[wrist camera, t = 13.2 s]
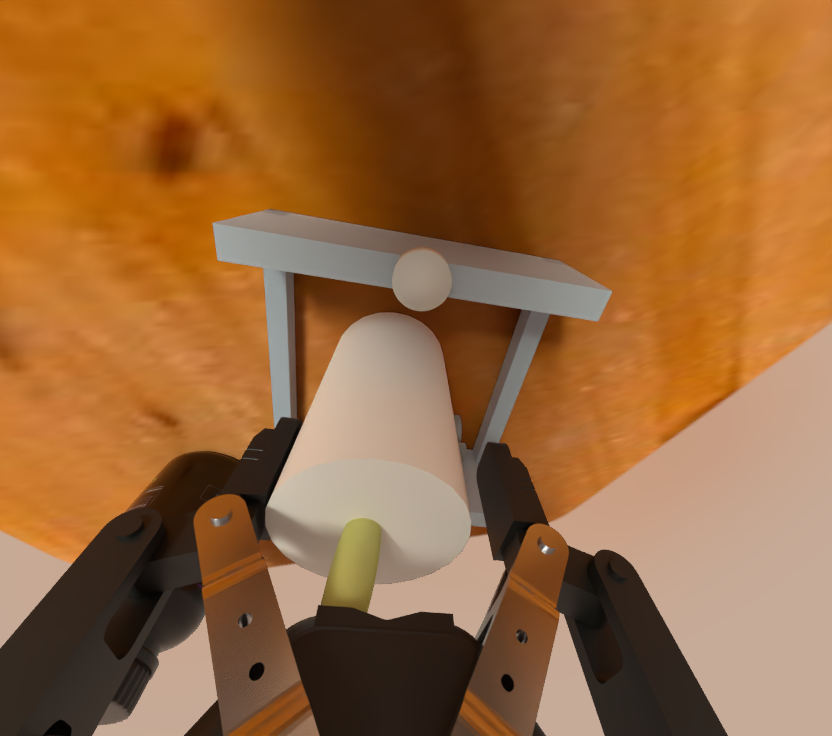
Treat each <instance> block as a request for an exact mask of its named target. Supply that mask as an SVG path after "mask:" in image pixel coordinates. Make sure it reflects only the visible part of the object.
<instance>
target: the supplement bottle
mask: <svg viewBox="0 0 832 736" xmlns="http://www.w3.org/2000/svg"><path fill="white" fill-rule="evenodd" d="M238 463H239V461H237V460H235V459H233V458H231V457H229V456H226V455H223V454H219V453H214V452H205V451H199V452H191V453H186V454H183V455H180V456H178V457H176V458H175V459H173V460H171V461H170V462H169V463H168V464H167V465H166V466H165V467H164V468H163V469H162V470H161V472H160V473H159V474H158V475H157V476H156V477H155V478H154V479H153V480H152V482H151V483H150V484H149V485H148V486H147V487H146V488H145V490H144V491H143V492H142V493H141V494H140V495H139V496H138V498H137V499H136V500H135V501H134V502H133V503H132V504H131V506H130V507H129V508H128V509H127V510H126V511H125V512H127V511H130V510H133V509H138V508H151V509H154V510H156V511H158V512H159V513H160V515H161V518H162V517H167V516H173V515H178V514H184V513H189V512H193V511H196V510H198V509H199V508H200V507H201V506H202V505H203V504H204V503H206V502H207V501H209V500H210V499H212V498H214V497H217V496H218V495H219V494H220V493H221V491H222V489H223V488H224V486H225V484H226V483H227V481H228V479H229V478H230V476H231V474H232V473H233V471H234V469H235V468H236V466H237V464H238ZM125 512H124V513H125ZM202 586H203V582H198V583H194V584H190V585H186V586H182V587H178V588H174V590H173V591H172V593H171V595H170V597H169V599H168V600H167V602H166V604H165V606H164V608H163V609H162V611H161V613H160V615H159V617H158V618H157V620H156V622H155V624H154V625H153V627H152V629H151V631H150V633H149V634H148V636H147V638H146V640H145V642H144V643H143V645H142V647H141V649H140V651H139V652H138V654H137V656H136V658H135V660H134V661H133V663H132V665H131V667H130V669H129V670H128V672H127V674H126V676H125V677H124V679H123V681H122V683H121V685H120V686H119V688H118V690H117V692H116V694H115V695H114V697H113V699H112V701H111V703H110V704H109V706H108V708H107V710H106V712H105V713H104V715H103V717H102V719H101V721H100V722H99V724H98V725H107V724H113V723H117V722H121V721H123V720H125V719H127V718H128V716H130V714H131V713H132V711H133V710H134V708H135V706H136V704H137V702H138V700H139V699H140V697H141V695H142V693H143V691H144V689H145V687H146V685H147V683H148V681H149V680H150V679H151V678H152V677H153V675H154V673H155V671H156V669H157V667H158V665H159V661H158V659H157V656H158V654H159V653H160V652H163V651H166V650H168V649H171V648H173V647H175V646H177V645H178V644H180V643H182V642H183V641H184V640H186V639H187V638H188V637H189V636H190V635H191V634H192V633H193V632H194V631H195V630H196V629H197V628H198V626H199V625H200V623H201V621H202V619H203V617H204V615H205V609H204V602H203V595H202Z"/></svg>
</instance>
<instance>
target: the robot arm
mask: <svg viewBox="0 0 832 736" xmlns="http://www.w3.org/2000/svg"><path fill="white" fill-rule="evenodd" d="M301 427H302V420H301V419H297V418H288V417H281V418H280V420H279V421H278V423H277V425H276V427H275V429H266V428H265V429H264V430H262V431H261V432H260V433H258V434H257V435H256V436H255V437H254V438H253V439H252V441H251V443H250V444H249V446H248V448H247V450H246V451H245V453H244V454H243V456H242V459H240V461H239V463H238V464H237V466H236V468H235V469H234V471H233V473H232V474H231V476H230V478H229V479H228V481H227V483H226V484H225V486H224V488H223V489H222V491H221V493H220V494H219V495H218V496H217V497H214V498H212V499H210V500H209V501H207V502H206V503H204V504H203V505H202V506H201V507H200V508H199V509H198V510H196V511H193V512H189V513H184V514H178V515H173V516H167V517H162V518H161V515H160V513H159V512H158V511H156V510H154V509H151V508H138V509H133V510H130V511H127V512H125V513H123V514H121V515H119V516H117V517H115V518H114V519H113V520H111V521H110V522H109V523H108V524H107V525H106V526H105V527H104V528H103V529H102V530H101V531H100V532H99V533H98V535H97V536H96V537H95V538H94V539H93V540H92V542H91V543H90V544H89V545H88V546H87V548H86V549H85V550H84V551H83V552H82V553H81V555H80V556H79V557H78V558H77V559H76V560H75V562H74V563H73V564H72V565H71V566H70V567H69V569H68V570H67V571H66V572H65V573H64V574H63V576H62V577H61V578H60V579H59V580H58V582H57V583H56V584H55V585H54V586H53V587H52V589H51V590H50V591H49V592H48V593H47V594H46V596H45V597H44V598H43V599H42V600H41V601H40V603H39V604H38V605H37V606H36V607H35V609H34V610H33V611H32V612H31V613H30V615H29V616H28V617H27V618H26V619H25V620H24V621H23V623H22V624H21V625H20V626H19V627H18V629H17V630H16V631H15V632H14V633H13V635H11V637H10V638H9V639H8V640H7V641H6V643H5V644H4V645H3V646H2V647H1V648H0V736H92V735H93V733H94V731H95V729H96V728H97V726H98V724H99V722H100V721H101V719H102V717H103V715H104V713H105V712H106V710H107V708H108V706H109V704H110V703H111V701H112V699H113V697H114V695H115V694H116V692H117V690H118V688H119V686H120V685H121V683H122V681H123V679H124V677H125V676H126V674H127V672H128V670H129V669H130V667H131V665H132V663H133V661H134V660H135V658H136V656H137V654H138V652H139V651H140V649H141V647H142V645H143V643H144V642H145V640H146V638H147V636H148V634H149V633H150V631H151V629H152V627H153V625H154V624H155V622H156V620H157V618H158V617H159V615H160V613H161V611H162V609H163V608H164V606H165V604H166V602H167V600H168V599H169V597H170V595H171V593H172V591H173V590H174V588H178V587H182V586H186V585H190V584H194V583H198V582H203V586H202V595H203V602H204V609H205V615H206V622H207V629H208V635H209V643H210V649H211V655H212V663H213V670H214V676H215V683H216V690H217V696H218V700H217V701H216V702H215V703H214V704H213V705H212V706H211V707H210V708H209V709H208V711H206V713H205V714H204V715H203V716H202V717H201V718H200V719H199V720H198V721H197V722H196V723H195V724H194V725H193V726H192V728H191V729H190V730H189V731H188V732H187V733H186V734H185V735H184V736H546V735H545V734H544V732H543V731H542V729H541V728H540V727H539V725H538V724H537V722H536V717H537V713H538V709H539V704H540V700H541V695H542V691H543V687H544V683H545V678H546V674H547V669H548V665H549V660H550V656H551V652H552V648H553V643H554V639H555V634H556V630H557V626H558V621H559V612H560V613H562V614H564V616H565V619H566V621H567V625H568V628H569V631H570V634H571V637H572V640H573V643H574V646H575V648H576V652H577V655H578V658H579V660H580V663H581V666H582V669H583V672H584V675H585V678H586V681H587V684H588V687H589V690H590V693H591V696H592V699H593V702H594V705H595V708H596V711H597V714H598V717H599V720H600V723H601V726H602V729H603V732H604V735H605V736H728V735H727V733H726V732H725V730H724V728H723V726H722V724H721V723H720V721H719V719H718V717H717V715H716V714H715V712H714V710H713V708H712V706H711V705H710V703H709V701H708V699H707V697H706V696H705V694H704V692H703V690H702V688H701V687H700V685H699V683H698V681H697V679H696V678H695V676H694V674H693V672H692V670H691V669H690V667H689V665H688V663H687V661H686V660H685V658H684V656H683V654H682V653H681V651H680V649H679V647H678V645H677V643H676V642H675V640H674V638H673V636H672V634H671V633H670V631H669V629H668V627H667V625H666V624H665V622H664V620H663V618H662V616H661V615H660V613H659V611H658V609H657V607H656V606H655V604H654V602H653V600H652V598H651V597H650V595H649V593H648V591H647V589H646V588H645V586H644V584H643V582H642V580H641V579H640V577H639V575H638V573H637V572H636V570H635V569H634V567H633V566H632V565H631V564H630V563H629V562H628V561H627V560H626V559H625V558H624V557H622V556H621V555H619V554H617V553H615V552H613V551H610V550H600V551H598V552H597V553H596V554H595V556H592V555H590V554H587V553H585V552H582V551H580V550H577V549H575V548H572V547H570V546H568V545H567V543H566V541H565V540H564V538H563V537H562V536H561V535H560V534H559V533H558V532H557V531H556V530H555V529H553V528H552V527H550V526H549V524H548V521H547V519H546V516H545V514H544V511H543V509H542V506H541V504H540V501H539V498H538V496H537V493H536V491H535V490H534V489H535V488H534V486H533V483H532V482H531V478H530V476H529V473H528V470H527V468H526V467H525V466H524V464H523V463H522V462H521V461H520V460H519V459H518V458H514V457H512V456H511V453H510V450H509V448H508V446H507V444H503V443H495V442H488V443H487V444H486V446H485V449H484V451H483V454H482V457H481V459H480V462H479V465H478V468H477V475H476V478H477V485H478V490H479V495H480V499H481V504H482V509H483V513H484V518H485V523H486V527H487V532H488V536H489V541H490V546H491V551H492V556H493V560H500V561H504V564H505V568H506V569H505V571H504V573H503V575H502V577H501V580H500V582H499V585H498V587H497V589H496V592H495V594H494V597H493V599H492V601H491V604H490V606H489V609H488V611H487V613H486V616H485V618H484V620H483V623H482V624H481V626H480V629H479V631H478V633H477V635H476V637H475V638H474V637H473V636H472V635H470V634H469V633H468V632H466V631H465V630H463V629H461V628H459V627H457V626H454V621H453V614H445V613H430V612H418V613H414V614H411V615H406V616H403V617H399V618H394V619H390V620H384V619H381V618H379V617H376V616H373V615H371V614H368V613H366V612H363V611H360V610H358V609H355V608H353V607H338V606H323V605H318V610H317V614H316V616H314V617H310V618H307V619H304V620H302V621H300V622H298V623H296V624H294V625H292V626H291V627H289V628H288V629H286V628H285V625H284V622H283V619H282V615H281V612H280V609H279V606H278V602H277V599H276V595H275V592H274V589H273V585H272V582H271V579H270V575H269V572H268V569H267V566H266V562H265V560H264V558H263V557H262V555H261V552H260V549H259V546H258V543H259V540H270V536H269V533H268V531H267V529H266V526H265V509H266V507H267V504H268V502H269V500H270V497H271V495H272V493H273V491H274V488H275V486H276V484H277V482H278V479H279V477H280V475H281V472H282V470H283V468H284V466H285V463H286V461H287V459H288V457H289V454H290V452H291V450H292V447H293V445H294V443H295V441H296V438H297V436H298V434H299V432H300V429H301Z"/></svg>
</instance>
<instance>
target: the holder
mask: <svg viewBox="0 0 832 736" xmlns="http://www.w3.org/2000/svg"><path fill="white" fill-rule="evenodd" d="M213 230H214V237H215V244H216V252H217V259H218V261H224V262H230V263H237V264H243V265H249V266H255V267H262V268H263V270H264V284H265V299H266V313H267V328H268V342H269V356H270V371H271V385H272V400H273V414H274V428H275V427H276V425H277V423H278V421H279V420H280V418H281V417H288V418H297V394H296V350H295V307H294V273H299V274H305V275H311V276H318V277H324V278H330V279H336V280H343V281H349V282H355V283H361V284H367V285H374V286H380V287H386V288H392V289H393V291H394V294H395V296H396V297H397V299H398V300H399V301H400V302H401V303H402V304H403V305H404V306H406V307H407V308H409V309H412V310H415V311H428V310H432V309H434V308H436V307H438V306H439V305H441V304H442V303H443V302H444V301H445V300H446V298H447V297H449V298H455V299H461V300H467V301H473V302H480V303H486V304H492V305H498V306H505V307H511V308H517V309H522V310H521V313H520V316H519V319H518V322H517V325H516V327H515V330H514V333H513V336H512V339H511V342H510V345H509V347H508V350H507V353H506V356H505V359H504V362H503V365H502V368H501V370H500V373H499V376H498V379H497V382H496V385H495V388H494V390H493V393H492V396H491V399H490V402H489V405H488V408H487V410H486V413H485V416H484V419H483V422H482V425H481V428H480V430H479V433H478V436H477V439H476V442H475V445H474V448H473V450H470V449H466V452H465V456H464V460H463V463H462V468H463V474H464V480H465V486H466V492H467V497H468V503H469V509H470V515H471V526H479V527H486V523H485V518H484V513H483V509H482V504H481V499H480V495H479V490H478V485H477V478H476V475H477V468H478V465H479V462H480V459H481V457H482V454H483V451H484V449H485V446H486V444H487V443H488V442H495V443H499V441H500V438H501V436H502V433H503V431H504V428H505V426H506V423H507V421H508V418H509V416H510V413H511V411H512V408H513V406H514V403H515V401H516V398H517V396H518V393H519V391H520V388H521V386H522V383H523V381H524V378H525V376H526V373H527V371H528V368H529V366H530V363H531V361H532V358H533V356H534V353H535V351H536V348H537V346H538V343H539V341H540V338H541V336H542V333H543V331H544V328H545V326H546V323H547V321H548V318H549V316H550V314H555V315H561V316H567V317H573V318H579V319H586V320H592V321H598V320H599V318H600V316H601V314H602V312H603V310H604V308H605V306H606V304H607V302H608V300H609V298H610V296H611V294H612V291H611V290H610V289H608V288H606V287H604V286H603V285H601V284H599V283H597V282H596V281H594V280H592V279H591V278H589V277H587V276H585V275H584V274H582V273H580V272H578V271H577V270H575V269H573V268H572V267H570V266H568V265H566V264H565V263H563V262H561V261H559V260H554V259H549V258H543V257H537V256H532V255H526V254H521V253H515V252H509V251H504V250H498V249H492V248H487V247H481V246H475V245H470V244H464V243H458V242H453V241H447V240H442V239H436V238H430V237H425V236H419V235H413V234H408V233H402V232H396V231H391V230H385V229H380V228H374V227H368V226H363V225H357V224H351V223H346V222H340V221H334V220H329V219H323V218H317V217H312V216H306V215H301V214H295V213H289V212H284V211H278V210H272V209H268V210H264V211H260V212H256V213H252V214H248V215H244V216H239V217H235V218H231V219H227V220H223V221H219V222H215V223H213Z"/></svg>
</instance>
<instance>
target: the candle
mask: <svg viewBox="0 0 832 736" xmlns="http://www.w3.org/2000/svg"><path fill="white" fill-rule="evenodd" d="M461 436H462V422H461V417H460V415H454V414H453V409H452V404H451V398H450V392H449V386H448V380H447V374H446V368H445V362H444V357H443V353H442V349H441V346H440V343H439V341H438V339H437V338H436V336H435V335H434V333H433V332H432V331H431V330H430V329H429V328H428V327H427V326H426V325H424V324H423V323H422V322H420V321H418V320H417V319H415V318H413V317H411V316H409V315H404V314H400V313H395V312H382V313H375V314H372V315H368V316H365V317H363V318H361V319H359V320H358V321H356V322H355V323H353V324H352V325H351V326H350V327H349V328H348V329H347V330H346V331H345V332H344V333H343V335H342V337H341V339H340V341H339V343H338V345H337V348H336V350H335V352H334V354H333V357H332V359H331V361H330V363H329V366H328V368H327V370H326V373H325V375H324V377H323V379H322V382H321V384H320V386H319V388H318V391H317V393H316V395H315V398H314V400H313V402H312V404H311V407H310V409H309V411H308V413H307V416H306V418H305V420H304V423H303V425H302V427H301V429H300V432H299V434H298V436H297V438H296V441H295V443H294V445H293V447H292V450H291V452H290V454H289V457H288V459H287V461H286V463H285V466H284V468H283V470H282V472H281V475H280V477H279V479H278V482H277V484H276V486H275V488H274V491H273V493H272V495H271V497H270V500H269V502H268V504H267V507H266V509H265V526H266V529H267V531H268V533H269V536H270V538H271V540H272V542H273V543H274V544H275V545H276V547H277V548H278V549H279V550H280V551H281V552H282V553H283V554H284V556H286V557H287V558H289V559H290V560H292V561H293V562H295V563H296V564H297V565H299V566H300V567H302V568H305V569H307V570H309V571H311V572H314V573H316V574H318V575H321V576H324V577H327V578H328V579H327V582H326V586H325V590H324V594H323V598H322V602H321V605H323V606H338V607H353V608H355V609H358V610H360V611H363V612H366V613H367V611H368V607H369V604H370V600H371V596H372V591H373V587H374V584H392V583H398V582H404V581H409V580H413V579H416V578H420V577H423V576H425V575H429V574H431V573H433V572H435V571H437V570H439V569H440V568H442V567H444V566H446V565H448V564H449V563H450V562H451V561H452V560H453V559H454V558H455V557H457V556H458V555H459V554H460V553H461V552H462V550H463V549H464V547H465V545H466V543H467V541H468V539H469V538H470V531H471V515H470V509H469V503H468V497H467V492H466V486H465V480H464V474H463V468H462V463H463V460H464V456H465V452H466V449H467V448H466V443H460V442H461Z"/></svg>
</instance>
